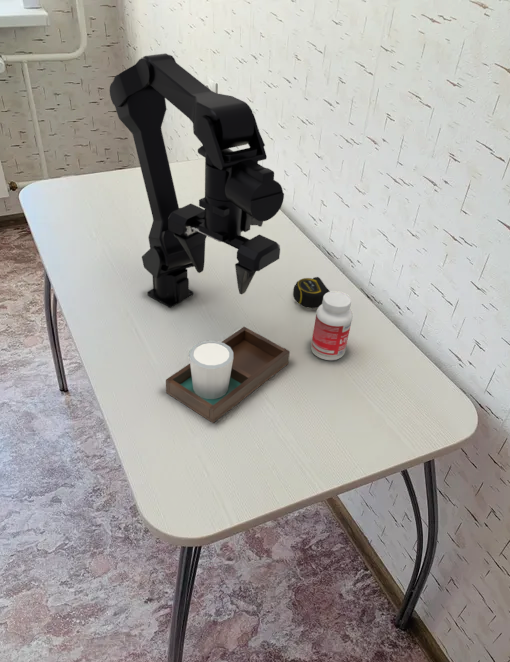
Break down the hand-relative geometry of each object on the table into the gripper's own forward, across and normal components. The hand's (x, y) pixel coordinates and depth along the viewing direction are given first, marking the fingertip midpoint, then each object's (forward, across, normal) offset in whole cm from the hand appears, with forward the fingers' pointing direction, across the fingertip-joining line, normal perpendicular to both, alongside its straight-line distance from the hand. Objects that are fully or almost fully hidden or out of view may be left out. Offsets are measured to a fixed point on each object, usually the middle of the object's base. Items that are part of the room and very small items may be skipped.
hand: (221, 282), depth 102 cm
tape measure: (+12, -5, -22) cm, 26 cm away
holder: (+12, -8, +6) cm, 16 cm away
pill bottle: (+12, -16, -11) cm, 23 cm away
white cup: (+11, -8, +11) cm, 18 cm away
